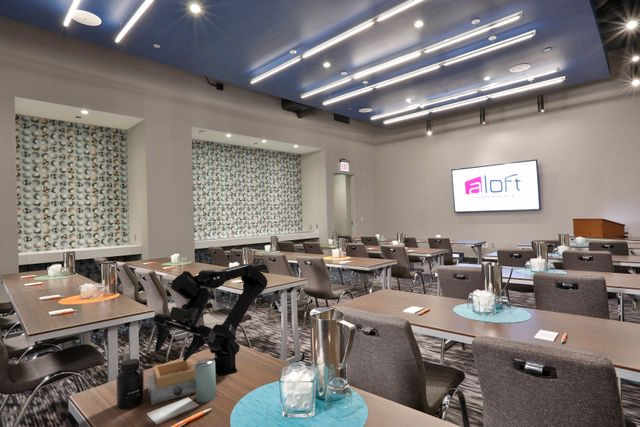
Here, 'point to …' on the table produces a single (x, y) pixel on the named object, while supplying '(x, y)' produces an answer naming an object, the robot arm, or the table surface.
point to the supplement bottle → (130, 385)
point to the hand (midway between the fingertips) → (169, 356)
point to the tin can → (205, 380)
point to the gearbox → (171, 381)
